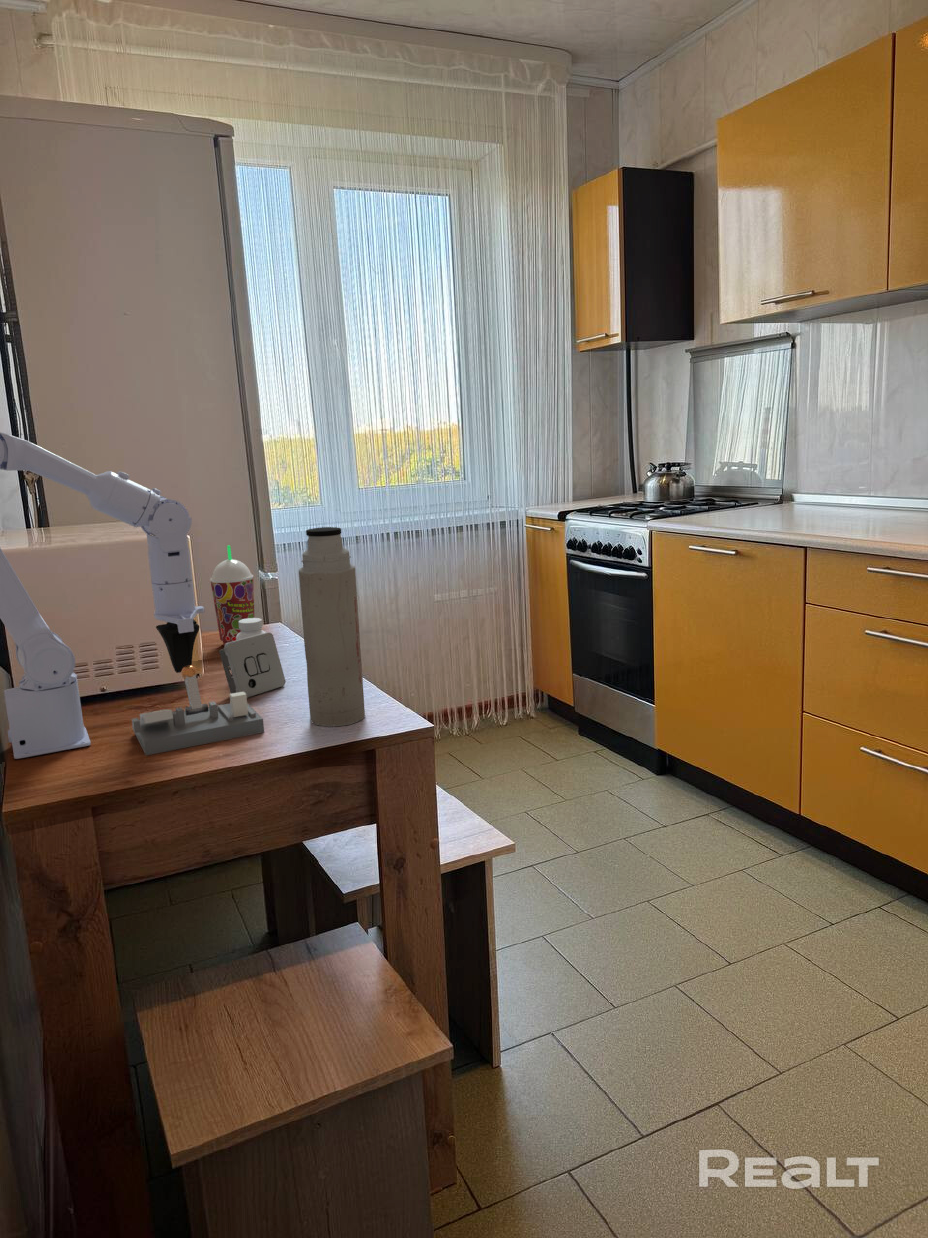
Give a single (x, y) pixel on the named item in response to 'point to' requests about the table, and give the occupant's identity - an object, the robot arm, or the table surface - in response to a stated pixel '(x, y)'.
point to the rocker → (156, 716)
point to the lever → (193, 691)
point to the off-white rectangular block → (238, 704)
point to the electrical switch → (252, 665)
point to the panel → (196, 728)
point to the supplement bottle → (249, 628)
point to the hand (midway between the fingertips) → (182, 670)
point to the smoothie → (232, 596)
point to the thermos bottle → (331, 630)
